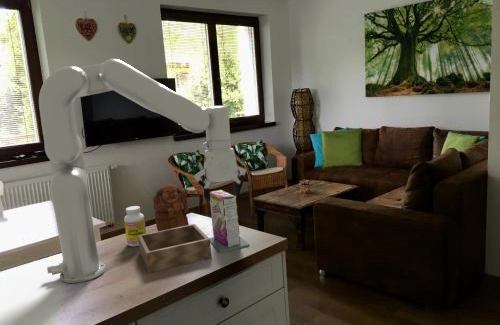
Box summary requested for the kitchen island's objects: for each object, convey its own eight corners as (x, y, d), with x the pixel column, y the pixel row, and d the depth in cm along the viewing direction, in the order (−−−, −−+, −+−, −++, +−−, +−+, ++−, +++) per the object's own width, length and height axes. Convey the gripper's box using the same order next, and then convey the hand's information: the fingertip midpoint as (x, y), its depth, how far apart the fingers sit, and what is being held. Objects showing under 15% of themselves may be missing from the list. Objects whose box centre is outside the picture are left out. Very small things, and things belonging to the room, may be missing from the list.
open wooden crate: (149, 272, 120) (146, 253, 119) (140, 252, 135) (137, 235, 134) (211, 257, 127) (209, 239, 126) (196, 240, 142) (194, 223, 141)
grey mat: (220, 252, 130) (220, 251, 130) (207, 240, 142) (207, 238, 142) (249, 245, 134) (249, 244, 134) (235, 234, 146) (234, 232, 146)
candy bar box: (212, 238, 141) (207, 192, 138) (225, 235, 144) (221, 189, 141) (227, 248, 132) (222, 198, 129) (241, 244, 134) (237, 195, 131)
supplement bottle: (126, 248, 140) (121, 211, 138) (128, 241, 147) (123, 206, 144) (147, 245, 142) (142, 209, 139) (147, 238, 148) (143, 204, 146)
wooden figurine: (163, 238, 147) (157, 189, 144) (156, 233, 152) (150, 186, 149) (192, 229, 154) (187, 182, 150) (185, 225, 159) (180, 180, 156)
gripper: (195, 149, 125) (199, 204, 128) (248, 143, 132) (251, 196, 135) (189, 146, 132) (193, 198, 135) (239, 141, 139) (242, 191, 142)
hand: (222, 197), depth 135 cm, fingers open, 9 cm apart
